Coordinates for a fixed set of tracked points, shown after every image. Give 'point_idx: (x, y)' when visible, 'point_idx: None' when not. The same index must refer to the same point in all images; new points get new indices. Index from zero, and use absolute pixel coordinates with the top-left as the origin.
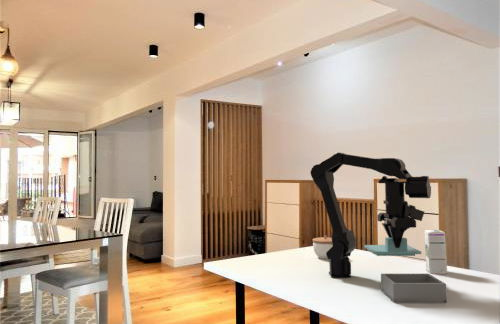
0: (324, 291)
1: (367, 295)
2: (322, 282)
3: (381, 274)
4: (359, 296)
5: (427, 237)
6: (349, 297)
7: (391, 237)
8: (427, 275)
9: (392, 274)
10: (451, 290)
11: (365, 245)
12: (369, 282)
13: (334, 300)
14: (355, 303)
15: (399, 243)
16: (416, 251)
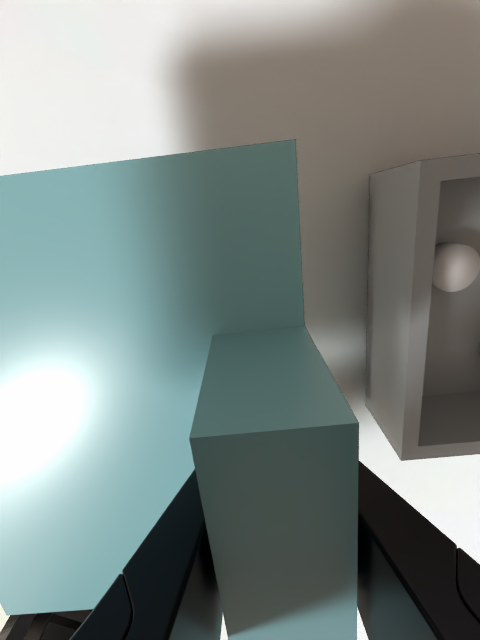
0: None
1: (428, 462)
2: None
3: (412, 458)
4: (439, 488)
5: None
6: (447, 517)
7: (218, 618)
8: (446, 180)
9: (420, 405)
10: (366, 16)
11: (25, 610)
12: None
13: (475, 558)
14: None
15: (373, 485)
16: (292, 209)
